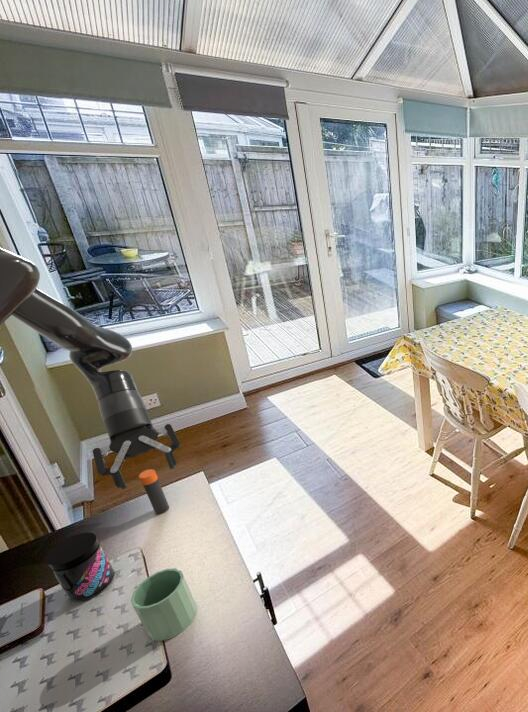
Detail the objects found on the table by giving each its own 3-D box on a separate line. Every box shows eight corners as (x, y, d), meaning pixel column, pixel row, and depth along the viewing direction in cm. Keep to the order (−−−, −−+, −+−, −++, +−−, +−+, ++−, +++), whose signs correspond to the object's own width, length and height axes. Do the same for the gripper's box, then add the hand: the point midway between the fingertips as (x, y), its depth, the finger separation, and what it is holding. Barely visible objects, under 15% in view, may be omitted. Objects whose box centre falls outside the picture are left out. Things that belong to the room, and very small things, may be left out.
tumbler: (143, 648, 70) (125, 615, 66) (154, 610, 76) (137, 577, 72) (193, 629, 73) (178, 597, 69) (199, 594, 79) (186, 562, 75)
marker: (153, 516, 94) (137, 479, 90) (156, 507, 96) (140, 471, 92) (168, 512, 95) (153, 475, 91) (170, 503, 98) (156, 467, 93)
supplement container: (69, 611, 75) (44, 572, 71) (67, 585, 79) (44, 547, 75) (118, 586, 79) (98, 548, 75) (114, 562, 84) (95, 526, 79)
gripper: (78, 422, 87) (103, 493, 85) (162, 397, 97) (187, 460, 94) (86, 431, 93) (110, 497, 91) (164, 406, 102) (188, 466, 100)
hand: (149, 478), depth 92 cm, fingers open, 8 cm apart
